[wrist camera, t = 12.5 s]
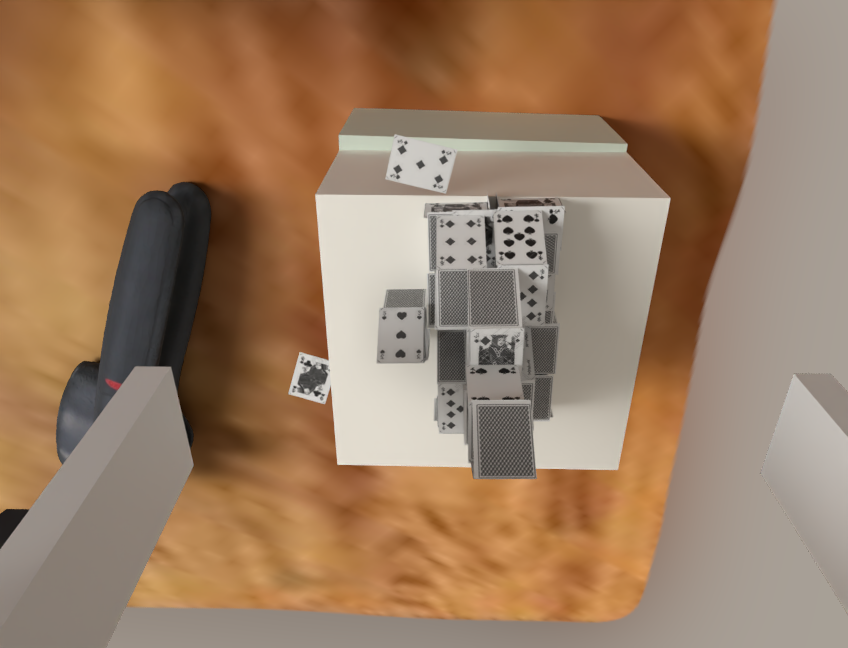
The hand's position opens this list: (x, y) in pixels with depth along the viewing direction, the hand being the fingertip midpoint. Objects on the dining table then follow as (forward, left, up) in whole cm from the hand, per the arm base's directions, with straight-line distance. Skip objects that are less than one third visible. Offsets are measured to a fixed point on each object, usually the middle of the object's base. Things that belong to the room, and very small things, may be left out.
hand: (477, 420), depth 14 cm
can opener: (-15, -8, -17) cm, 23 cm away
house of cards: (-2, 0, -7) cm, 7 cm away
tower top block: (+1, -2, -11) cm, 12 cm away
